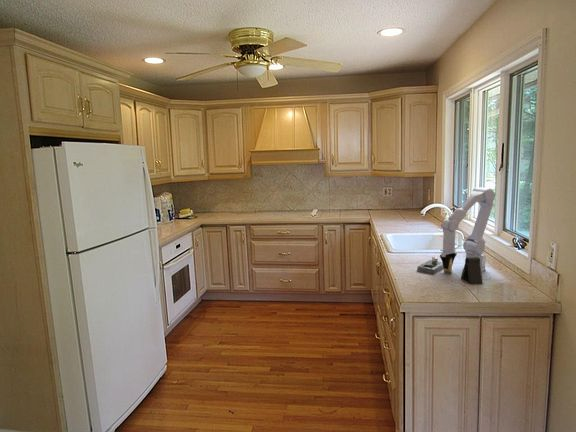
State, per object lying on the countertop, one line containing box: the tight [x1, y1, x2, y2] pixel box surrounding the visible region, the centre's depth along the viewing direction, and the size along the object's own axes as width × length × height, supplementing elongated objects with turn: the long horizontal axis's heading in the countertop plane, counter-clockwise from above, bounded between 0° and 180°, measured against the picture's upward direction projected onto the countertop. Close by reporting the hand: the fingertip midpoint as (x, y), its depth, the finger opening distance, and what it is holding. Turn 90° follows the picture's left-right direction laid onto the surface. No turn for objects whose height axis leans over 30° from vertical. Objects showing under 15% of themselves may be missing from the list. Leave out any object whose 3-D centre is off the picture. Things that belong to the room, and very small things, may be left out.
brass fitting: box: [443, 258, 453, 275], centre depth 207 cm, size 4×4×8 cm
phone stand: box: [460, 257, 484, 285], centre depth 193 cm, size 9×6×12 cm, turn 6°
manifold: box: [416, 256, 444, 275], centre depth 214 cm, size 9×16×6 cm, turn 137°
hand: (447, 267), depth 207 cm, fingers open, 5 cm apart
